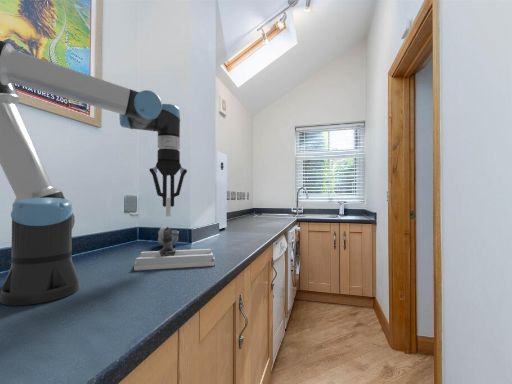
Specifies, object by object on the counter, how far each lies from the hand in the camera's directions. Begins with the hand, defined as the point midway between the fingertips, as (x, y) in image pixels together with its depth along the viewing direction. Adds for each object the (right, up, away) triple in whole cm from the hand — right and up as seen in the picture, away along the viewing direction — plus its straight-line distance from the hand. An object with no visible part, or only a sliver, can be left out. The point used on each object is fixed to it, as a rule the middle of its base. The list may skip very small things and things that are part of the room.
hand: (168, 215), depth 96 cm
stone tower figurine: (0, -16, 0) cm, 16 cm away
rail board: (+3, -17, +1) cm, 17 cm away
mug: (-10, -18, +31) cm, 37 cm away
